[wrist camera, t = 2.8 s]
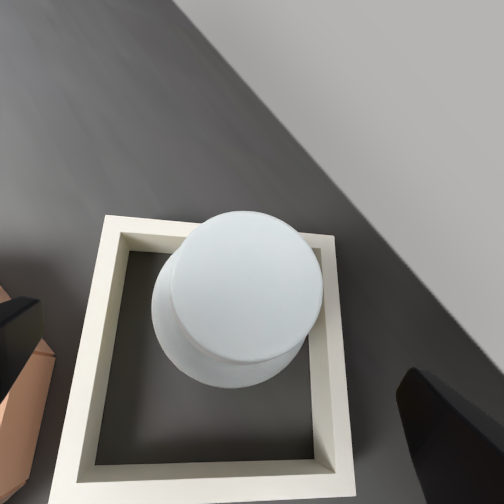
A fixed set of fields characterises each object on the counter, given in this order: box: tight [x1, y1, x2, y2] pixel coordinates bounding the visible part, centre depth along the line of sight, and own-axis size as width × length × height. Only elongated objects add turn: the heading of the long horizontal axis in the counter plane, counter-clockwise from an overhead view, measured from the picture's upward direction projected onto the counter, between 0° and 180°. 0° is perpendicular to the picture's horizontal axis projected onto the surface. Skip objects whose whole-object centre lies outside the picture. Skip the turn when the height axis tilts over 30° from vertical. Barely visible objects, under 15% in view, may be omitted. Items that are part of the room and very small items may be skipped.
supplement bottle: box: [151, 211, 323, 388], centre depth 13 cm, size 5×5×10 cm
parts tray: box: [48, 215, 356, 504], centre depth 15 cm, size 12×12×2 cm
